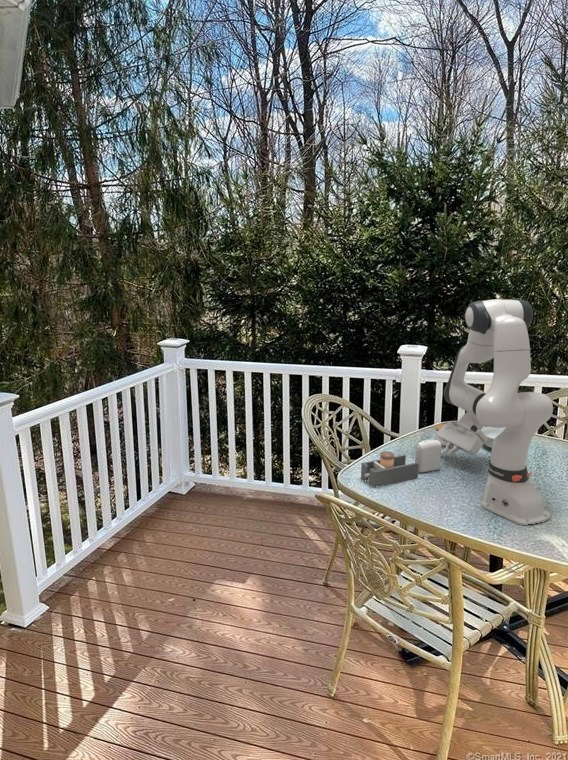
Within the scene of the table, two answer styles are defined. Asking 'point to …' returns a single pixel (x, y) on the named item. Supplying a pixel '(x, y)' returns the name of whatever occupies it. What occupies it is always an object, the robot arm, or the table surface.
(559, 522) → the table surface
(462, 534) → the table surface
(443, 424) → the lidded jar
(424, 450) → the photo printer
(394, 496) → the table surface
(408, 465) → the lane
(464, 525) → the table surface
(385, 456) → the jar
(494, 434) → the cereal bowl
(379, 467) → the pusher
